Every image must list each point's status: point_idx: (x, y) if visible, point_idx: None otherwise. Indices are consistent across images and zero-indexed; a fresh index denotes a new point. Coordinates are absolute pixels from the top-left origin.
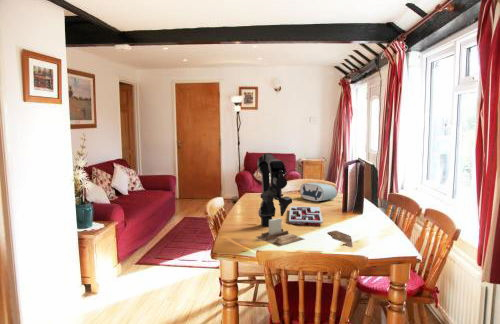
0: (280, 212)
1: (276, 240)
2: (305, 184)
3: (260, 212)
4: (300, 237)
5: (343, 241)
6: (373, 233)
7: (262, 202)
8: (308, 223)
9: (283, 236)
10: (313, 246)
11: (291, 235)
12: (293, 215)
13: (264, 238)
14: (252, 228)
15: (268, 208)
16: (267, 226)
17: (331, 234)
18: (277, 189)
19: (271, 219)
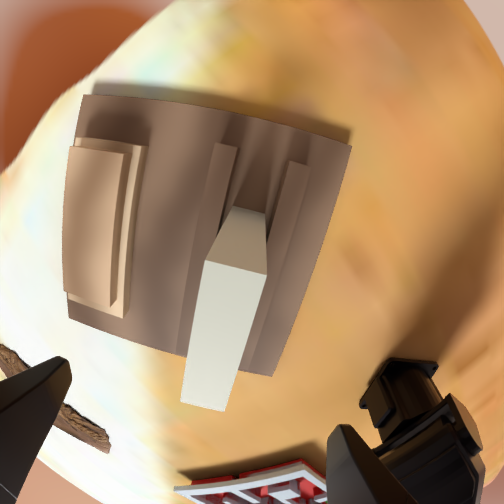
0: (32, 386)
1: (127, 143)
2: None
3: (464, 418)
4: (99, 329)
5: (12, 368)
6: (47, 448)
7: (479, 488)
8: (230, 480)
9: (100, 213)
10: (13, 264)
11: (80, 271)
12: (321, 498)
13: (268, 156)
14: (457, 315)
15: (368, 469)
16: (386, 377)
17: (81, 420)
18: None
19: (250, 320)
